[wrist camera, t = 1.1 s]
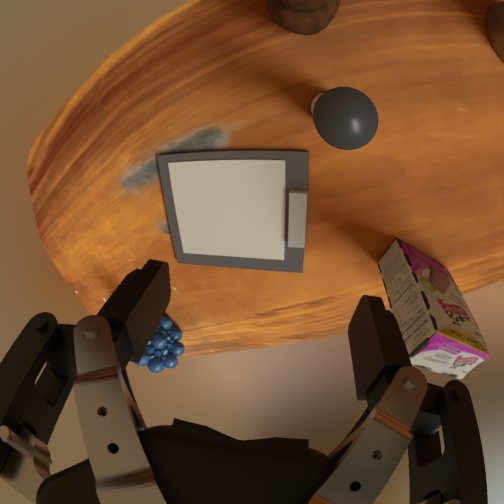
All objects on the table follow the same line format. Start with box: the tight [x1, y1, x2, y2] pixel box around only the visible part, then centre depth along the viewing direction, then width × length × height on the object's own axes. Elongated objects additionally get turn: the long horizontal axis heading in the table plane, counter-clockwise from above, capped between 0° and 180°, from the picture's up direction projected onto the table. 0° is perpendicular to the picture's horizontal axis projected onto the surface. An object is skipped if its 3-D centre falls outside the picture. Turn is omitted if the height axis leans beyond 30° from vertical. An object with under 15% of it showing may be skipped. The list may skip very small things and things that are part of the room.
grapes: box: [134, 315, 185, 373], centre depth 43 cm, size 12×7×12 cm, turn 36°
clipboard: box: [157, 150, 308, 273], centre depth 33 cm, size 16×18×2 cm
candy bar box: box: [378, 238, 490, 379], centre depth 26 cm, size 11×5×16 cm, turn 69°
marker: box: [310, 87, 378, 150], centre depth 19 cm, size 4×4×14 cm
